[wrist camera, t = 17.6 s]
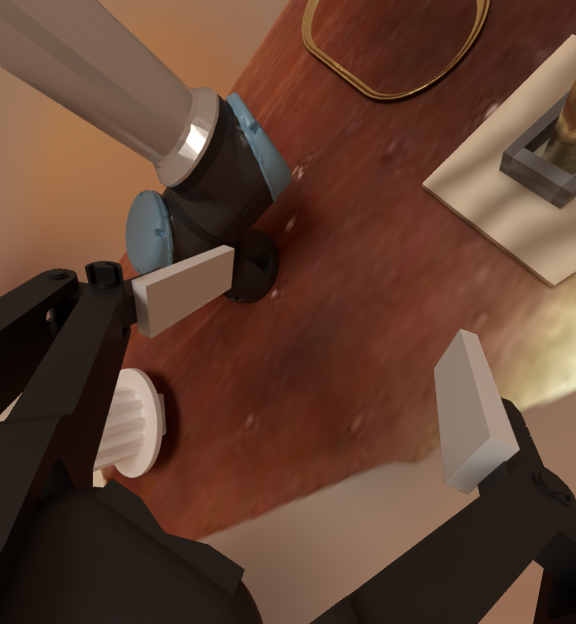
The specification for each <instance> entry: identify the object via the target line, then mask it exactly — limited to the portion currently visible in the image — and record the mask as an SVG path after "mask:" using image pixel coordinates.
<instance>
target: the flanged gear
mask: <svg viewBox="0 0 576 624" xmlns="http://www.w3.org/2000/svg"><path fill="white" fill-rule="evenodd" d="M165 434H166V419H165V404H164V395H163V394H162V393H161V394H157V392H156V389H155V387H154V385H153V383H152V382H151V380H150V379H149V377H148V376H147V375H146V374H145V373H144V372H143V371H141V370H139V369H136V368H129V369H123V370H121V371H120V374H119V377H118V381H117V384H116V388H115V392H114V395H113V399H112V403H111V406H110V410H109V413H108V417H107V421H106V424H105V428H104V432H103V435H102V439H101V442H100V446H99V450H98V453H97V457H96V460H95V464H94V469H93V472H94V471H97V470H100V469H102V468H105V467H108V466H110V465H113V464H114V465H115V467H116V468H117V469H118V470H119V471H120V472H121V473H122V474H123V475H125V476H127V477H137V476H139V475H142V474H144V473H146V472H147V471H148V470H149V469H150V468H151V467H152V466H153V464H154V462H155V461H156V458H157V456H158V453H159V450H160V446H161V440H162V435H165Z"/></svg>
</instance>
